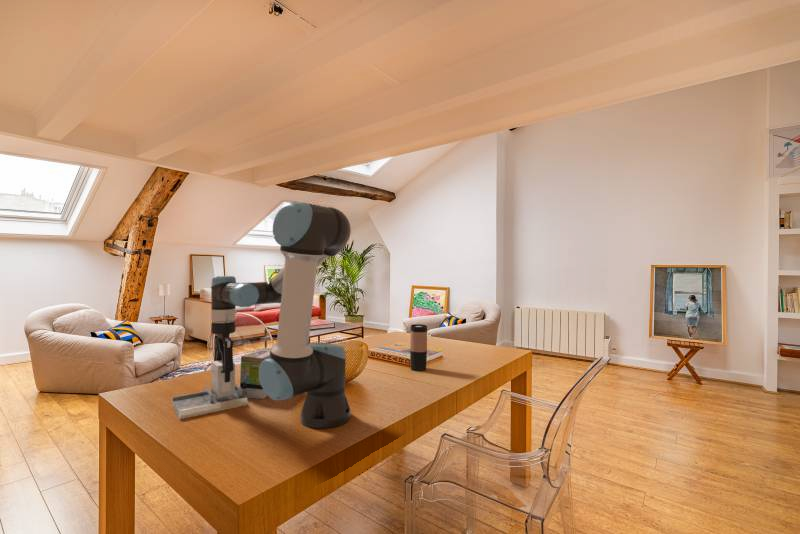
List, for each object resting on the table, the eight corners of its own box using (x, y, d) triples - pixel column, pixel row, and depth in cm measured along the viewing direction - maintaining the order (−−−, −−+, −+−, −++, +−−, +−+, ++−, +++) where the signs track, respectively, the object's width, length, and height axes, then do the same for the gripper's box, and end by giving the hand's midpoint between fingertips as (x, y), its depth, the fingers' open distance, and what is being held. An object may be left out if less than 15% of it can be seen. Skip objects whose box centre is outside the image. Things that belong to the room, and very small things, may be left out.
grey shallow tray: (247, 405, 130) (247, 390, 130) (179, 419, 117) (179, 403, 117) (235, 393, 141) (235, 380, 141) (172, 405, 128) (172, 390, 128)
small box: (235, 394, 130) (235, 363, 130) (217, 398, 126) (217, 366, 126) (228, 388, 136) (228, 358, 136) (211, 391, 133) (211, 361, 132)
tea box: (264, 399, 135) (265, 357, 135) (239, 397, 137) (239, 356, 137) (285, 386, 150) (286, 348, 150) (262, 384, 152) (262, 347, 152)
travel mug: (407, 367, 179) (408, 324, 179) (423, 366, 181) (423, 324, 181) (413, 372, 172) (413, 327, 171) (429, 370, 174) (429, 326, 174)
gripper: (244, 324, 125) (243, 394, 125) (226, 316, 142) (226, 378, 142) (219, 326, 121) (218, 398, 121) (204, 318, 137) (204, 382, 137)
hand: (223, 387), depth 131 cm, fingers closed on small box, 8 cm apart
